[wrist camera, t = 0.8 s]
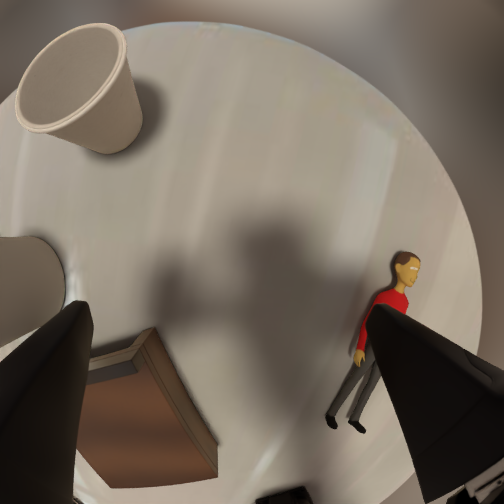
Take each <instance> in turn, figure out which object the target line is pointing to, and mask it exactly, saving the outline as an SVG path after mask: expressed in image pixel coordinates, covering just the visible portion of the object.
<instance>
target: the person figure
mask: <svg viewBox="0 0 504 504" xmlns="http://www.w3.org/2000/svg"><path fill="white" fill-rule="evenodd" d="M419 269H420V259H419V258H418V257H417V256H416V255H415V254H413V253H411V252H402V253H400V254H399V255H398V256H397V258H396V260H395V263H394V270H395V273H396V276H397V278H398V282H397V285H396V287H395V288H392V289H390V290H388V291H384V292H381V293H380V294H378V295H377V297H376V299H375V301H374V303H373V305H372V307H373V306H374V305H375V304H377V303H386V304H388V305H390V306H391V307H393V308H395V309H397V310H398V311H400V312H402V313H404V314H406V310H407V308H408V304H409V303H408V300H407V298H406V296H405V294H404V288H405V287H406V286H409V287H412V285H413V284H414V282H415V280H416V279H417V273H418V271H419ZM372 307H371V309H372ZM371 309H370V311H371ZM370 311H369V313H370ZM369 313H368V315H367V316H366V318H365V320H364V322H363V324H362V327H361V330H360V334H359V339H358V344H357V348H356V352H355V354H354V361H355V363H356V365H357V366H356V368H355V370H354V372H353V373H352V375H351V377H350V378H349V379H348V380H347V382H346V383H345V385H344V386H343V388H342V389H341V391H340V393H339V395H338V396H337V398H336V400H335V401H334V403H333V405H332V406H331V408H330V409H329V411H328V413H327V415H326V416H325V418H326V422H327V425H328V426H329V427H330V428H332V429H337V427H338V425H337V423H336V420H335V415H336V413H337V412H338V410H339V408H340V407H341V405H342V404H343V402H344V401H345V400H346V398H347V397H348V395H349V394H350V393H351V391H352V390H353V388H354V387H355V385H356V384H357V383H358V381H359V380H360V379H361V378H362V376H363V375H364V374H365V373H366V371H367V370H368V369H369V368H370V366H371V365H372V364H373V367H372V370H371V374H370V377H369V380H368V382H367V384H366V386H365V387H364V389H363V391H362V393H361V395H360V397H359V399H358V402H357V404H356V407H355V409H354V411H353V413H352V415H351V416H350V418H349V421H348V423H349V424H350V425H352V426H353V427H355V429H356V430H357V431H358V432H360V433H363V434H365V433H366V429H365V428H364V427H363V426H362V425H361V424H360V423H359V418H360V415H361V413H362V411H363V408H364V407H365V405H366V403H367V401H368V399H369V397H370V395H371V393H372V391H373V390H374V388H375V386H376V384H377V382H378V380H379V379H380V377H381V373H380V371H379V369H378V366H377V363H376V360H375V357H374V354H373V351H372V347H371V344H370V341H369V342H368V344H367V346H366V348H365V351H364V347H365V342H366V338H367V332H366V329H365V322H366V320H367V318H368V316H369ZM358 361H359V362H358Z"/></svg>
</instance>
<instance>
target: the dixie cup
mask: <svg viewBox="0 0 504 504" xmlns="http://www.w3.org/2000/svg"><path fill="white" fill-rule="evenodd" d="M126 55H127V42H126V39H125V37H124V35H123V33H122V32H121V31H120V30H119V29H118V28H116V27H114V26H112V25H109V24H104V23H93V24H87V25H83V26H80V27H77V28H74V29H72V30H69V31H68V32H65V33H64V34H62V35H60V36H59V37H57V38H56V39H54V40H53V41H52V42H50V43H49V44H48V45H47V46H46V47H45V48H44V49H43V50H42V51H41V52H40V53H39V54H38V55H37V56H36V57H35V58H34V60H33V61H32V62H31V64H30V65H29V66H28V68H27V70H26V71H25V73H24V75H23V77H22V79H21V81H20V84H19V87H18V90H17V94H16V100H15V111H16V116H17V119H18V121H19V123H20V124H21V125H22V126H23V127H24V128H25V129H26V130H28V131H30V132H33V133H47V134H49V135H52V136H55V137H58V138H61V139H64V140H66V141H69V142H72V143H75V144H77V145H80V146H83V147H85V148H88V149H91V150H93V151H96V152H99V153H102V154H112V153H116V152H119V151H121V150H123V149H125V148H126V147H127V146H129V145H130V144H131V143H132V142H133V141H134V140H135V138H136V137H137V135H138V134H139V132H140V129H141V126H142V121H143V116H142V111H141V107H140V103H139V100H138V97H137V94H136V90H135V87H134V83H133V79H132V76H131V72H130V68H129V64H128V60H127V56H126Z"/></svg>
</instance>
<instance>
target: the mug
mask: <svg viewBox="0 0 504 504" xmlns="http://www.w3.org/2000/svg"><path fill="white" fill-rule="evenodd" d="M64 295H65V281H64V274H63V270H62V267H61V264H60V261H59V259H58V257H57V255H56V254H55V252H54V251H53V249H52V248H51V247H50V246H49V245H48V244H47V243H46V242H44V241H43V240H41V239H39V238H36V237H28V236H27V237H0V348H1V347H2V346H4V345H6V344H8V343H10V342H12V341H14V340H16V339H18V338H19V337H21V336H23V335H25V334H27V333H29V332H31V331H33V330H35V329H37V328H39V327H41V326H43V325H44V324H45V323H46V322H48V321H49V320H50V319H51V318H52V317H54V316H55V315H56V314H57V313H59V312H60V310H61V307H62V305H63V301H64Z"/></svg>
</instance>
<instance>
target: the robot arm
mask: <svg viewBox="0 0 504 504" xmlns="http://www.w3.org/2000/svg"><path fill="white" fill-rule="evenodd" d="M365 329H366V332H367V335H368V338H369V341H370V344H371V347H372V351H373V354H374V357H375V360H376V363H377V366H378V369H379V371H380V373H381V376H382V378H383V381H384V383H385V386H386V388H387V391H388V393H389V396H390V399H391V401H392V404H393V407H394V409H395V412H396V415H397V417H398V420H399V423H400V426H401V428H402V431H403V434H404V437H405V440H406V443H407V446H408V449H409V452H410V455H411V458H412V462H413V465H414V468H415V471H416V474H417V477H418V481H419V484H420V488H421V491H422V495H423V499H424V502H425V504H427V503H429V502H431V501H434V500H436V499H437V498H440V497H442V496H444V495H445V494H447V493H449V492H451V491H453V490H455V489H456V488H458V487H460V486H462V485H464V487H462V488H461V489H460V490H459V491H457V492H456V493H455V494H453V496H451V497H450V498H448V499H447V503H446V504H504V371H503V370H501V369H500V368H498V367H496V366H494V365H492V364H490V363H488V362H486V361H484V360H483V359H481V358H479V357H477V356H476V355H474V354H472V353H470V352H469V351H467V350H465V349H463V348H462V347H460V346H459V345H457V344H455V343H453V342H452V341H450V340H448V339H447V338H445V337H443V336H442V335H440V334H438V333H436V332H435V331H433V330H431V329H430V328H428V327H426V326H424V325H423V324H421V323H419V322H417V321H416V320H414V319H412V318H411V317H409V316H407V315H405V314H404V313H402V312H400V311H398V310H397V309H395V308H393V307H391V306H390V305H388V304H386V303H377V304H375V305H374V306H373V307H372V309H371V311H370V313H369V316H368V318H367V320H366V322H365ZM93 330H94V325H93V320H92V316H91V312H90V308H89V305H88V303H87V302H86V301H78V300H75V301H73V302H71V303H70V304H69V305H68V306H66V307H65V308H64V309H62V310H61V311H60V312H59V313H57V314H56V315H55V316H54V317H52V318H51V319H50V320H49V321H48V322H46V323H45V324H44V325H43V326H41V327H40V328H39V329H38V330H37V331H35V332H34V333H33V334H32V335H31V336H30V337H28V338H27V339H26V340H25V341H24V342H23V343H21V344H20V345H19V346H18V347H17V348H16V349H15V350H13V351H12V352H11V353H10V354H9V355H8V356H7V357H6V358H4V359H3V360H2V361H1V362H0V504H73V482H74V466H75V454H76V445H77V437H78V429H79V422H80V415H81V409H82V403H83V398H84V393H85V388H86V383H87V377H88V370H89V361H90V352H91V344H92V337H93ZM255 503H256V504H314V503H313V501H312V499H311V497H310V495H309V494H308V492H307V490H306V488H305V487H304V486H302V487H299V488H296V489H293V490H290V491H287V492H283V493H280V494H277V495H273V496H270V497H266V498H262V499H259V500H256V501H255Z"/></svg>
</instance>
